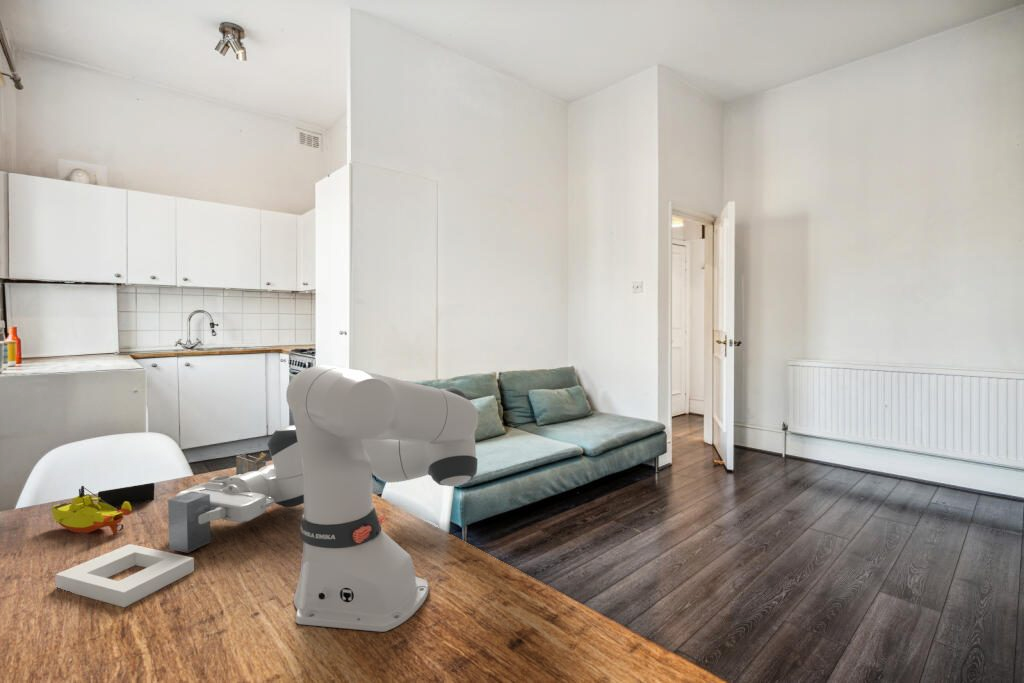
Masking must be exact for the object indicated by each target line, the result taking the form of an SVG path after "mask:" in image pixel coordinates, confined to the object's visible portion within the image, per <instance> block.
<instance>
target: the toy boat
mask: <svg viewBox="0 0 1024 683" xmlns="http://www.w3.org/2000/svg"><path fill="white" fill-rule="evenodd" d="M85 490H86V491H88V492H89V493H91V494H92V495H93V496H94V497H92V496H91V495H90V494H89V493H86V494H85ZM99 499H100V497H98V495H96V494H95V493H93V492H92V491H90V490H88V488H86V487H85V486H84V485H81V487H80V488H78V496H77V495H76V496H75V497H74V498H72V502H68V503H66V502H64V503H58V504H56V505H53V506H51V512H52V517H53V519H54V520H55V521H56V523H58V524H59V525H60V526H61V527H62V528H66V529H67V530H69V531H70V532H74V533H77V534H78V533H85V534H86V533H92V532H94V531H98V529H102V528H107V527H109V528H110V529H111V531H112V532H111V533H112V534H113V535H118V532H121V531H122V530H123V529H124V524H121V522H122V520H124V516H129V515H131V514H132V513H133V510H132V508H133V507H132V504H130V503H129V502H124V503H123V505H122V506H121V508H120V509H119V510H118V508H116V506H115V507H113V506H111V505H109V504H107V503H106V502H104V501H103V500H102V499H100V500H102V501H103V502H104V503H102V502H98V500H99ZM94 502H97V503H94ZM120 525H121V526H120ZM119 526H120V528H119ZM118 528H119V529H118Z"/></svg>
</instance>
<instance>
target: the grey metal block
mask: <svg viewBox="0 0 1024 683" xmlns="http://www.w3.org/2000/svg"><path fill="white" fill-rule="evenodd" d="M174 497H175V496H174ZM174 497H172V498H169V499H168V500H167V502H168V503H167V504H168V505H167V506H168V507H167V510H168V545H169V546H168V549H169V550H172V551H178V552H181V553H186V554H188V553H190V552H193V551H195V550H197V549H199V548H201V547H203V546H205V545H207V544H209V543H211V542H212V540H211V537H212V536H211V533H212V532H211V530H212V529H211V521H208V522H206V523H203V524H199V523H195V515H196V514H199V513H201V512H208V511H210V494H205V493H199V492H189V493H186V494H183V495H180V496H178V497H175V498H174Z"/></svg>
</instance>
